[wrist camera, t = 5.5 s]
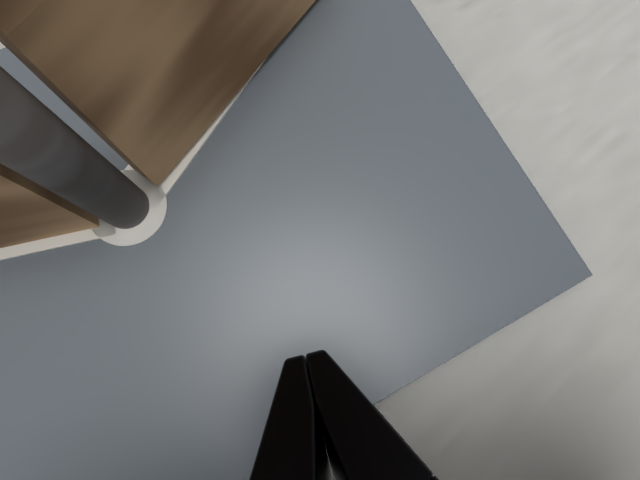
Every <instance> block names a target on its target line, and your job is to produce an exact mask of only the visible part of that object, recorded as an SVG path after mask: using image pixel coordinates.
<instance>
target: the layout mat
mask: <svg viewBox="0 0 640 480" xmlns="http://www.w3.org/2000/svg"><path fill="white" fill-rule="evenodd" d="M0 66H1V67H2V68H3V69H4V70H5V71H7V72H8V73H9V74H10V75H11V76H12V77H13V78H15V79H16V80H17V81H18V82H19V83H20V84H21V85H23V86H24V87H25V88H26V89H27V90H28V91H29V92H31V93H32V94H33V95H34V96H35V97H36V98H37V99H39V100H40V101H41V102H42V103H43V104H44V105H45V106H47V107H48V108H49V109H50V110H51V111H52V112H53V113H55V114H56V115H57V116H58V117H59V118H60V119H61V120H63V121H64V122H65V123H66V124H67V125H68V126H69V127H71V128H72V129H73V130H74V131H75V132H76V133H77V134H79V135H80V136H81V137H82V138H83V139H84V140H85V141H87V142H88V143H89V144H90V145H91V146H92V147H93V148H95V149H96V150H97V151H98V152H99V153H100V154H101V155H103V156H104V157H105V158H106V159H107V160H108V161H109V162H111V163H112V164H113V165H114V166H115V167H116V168H117V169H119V170H120V171H121V172H122V173H123V174H124V175H125V176H127V177H128V178H129V179H130V180H131V181H132V182H133V183H135V184H136V185H137V186H138V187H139V188H140V189H141V190H142V191H144V192H145V194H146V195H147V197H148V199H149V212H148V214H147V216H146V218H145V219H144V220H143V221H142V222H141V223H140V224H139V225H137V226H135V227H133V228H129V229H120V228H117V227H114V226H112V225H111V224H109V223H107V222H105V221H103V220H102V219H100V218H99V225H100V227H96V228H91V229H87V230H82V231H78V232H73V233H68V234H64V235H59V236H54V237H50V238H45V239H41V240H36V241H31V242H27V243H22V244H18V245H13V246H8V247H4V248H0V480H247V479H249V478H250V475H251V472H252V469H253V465H254V462H255V458H256V455H257V452H258V448H259V445H260V441H261V438H262V435H263V431H264V428H265V424H266V421H267V418H268V414H269V411H270V407H271V404H272V401H273V397H274V394H275V390H276V387H277V384H278V380H279V377H280V373H281V370H282V367H283V363H284V361H285V360H286V359H287V358H291V357H295V356H299V355H304V356H305V358H306V354H307V353H311V352H315V351H319V350H325V351H326V352H327V353H328V354H329V355H330V356H331V357H332V358H333V360H334V361H335V362H336V363H337V364H338V365H339V366H340V368H341V369H342V370H343V371H344V372H345V373H346V374H347V376H348V377H349V378H350V379H351V380H352V381H353V382H354V384H355V385H356V386H357V387H358V388H359V389H360V390H361V391H362V393H363V394H364V395H365V396H366V397H367V398H368V399H369V401H370V402H371V403H372V404H373V405H374V404H375V403H377V402H379V401H380V400H382V399H384V398H386V397H387V396H389V395H391V394H392V393H394V392H396V391H397V390H399V389H401V388H402V387H404V386H406V385H407V384H409V383H411V382H413V381H414V380H416V379H418V378H419V377H421V376H423V375H424V374H426V373H428V372H429V371H431V370H433V369H434V368H436V367H438V366H440V365H441V364H443V363H445V362H446V361H448V360H450V359H451V358H453V357H455V356H456V355H458V354H460V353H461V352H463V351H465V350H467V349H468V348H470V347H472V346H473V345H475V344H477V343H478V342H480V341H482V340H483V339H485V338H487V337H488V336H490V335H492V334H494V333H495V332H497V331H499V330H500V329H502V328H504V327H505V326H507V325H509V324H510V323H512V322H514V321H515V320H517V319H519V318H521V317H522V316H524V315H526V314H527V313H529V312H531V311H532V310H534V309H536V308H537V307H539V306H541V305H542V304H544V303H546V302H548V301H549V300H551V299H553V298H554V297H556V296H558V295H559V294H561V293H563V292H564V291H566V290H568V289H570V288H571V287H573V286H575V285H576V284H578V283H580V282H581V281H583V280H585V279H586V278H588V277H590V276H591V275H592V273H591V272H590V270H589V269H588V267H587V266H586V264H585V263H584V261H583V260H582V258H581V257H580V255H579V254H578V252H577V251H576V249H575V248H574V246H573V245H572V243H571V242H570V240H569V239H568V237H567V236H566V234H565V233H564V231H563V230H562V228H561V227H560V225H559V224H558V222H557V221H556V219H555V218H554V216H553V215H552V213H551V212H550V210H549V209H548V207H547V205H546V204H545V202H544V201H543V199H542V198H541V196H540V195H539V193H538V192H537V190H536V189H535V187H534V186H533V184H532V183H531V181H530V180H529V178H528V177H527V175H526V174H525V172H524V171H523V169H522V168H521V166H520V165H519V163H518V162H517V160H516V159H515V157H514V156H513V154H512V153H511V151H510V150H509V148H508V147H507V145H506V144H505V142H504V141H503V139H502V138H501V136H500V135H499V133H498V132H497V130H496V129H495V127H494V126H493V124H492V123H491V121H490V120H489V118H488V117H487V115H486V114H485V112H484V111H483V109H482V108H481V106H480V105H479V103H478V101H477V100H476V98H475V97H474V95H473V94H472V92H471V91H470V89H469V88H468V86H467V85H466V83H465V82H464V80H463V79H462V77H461V76H460V74H459V73H458V71H457V70H456V68H455V67H454V65H453V64H452V62H451V61H450V59H449V58H448V56H447V55H446V53H445V52H444V50H443V49H442V47H441V46H440V44H439V43H438V41H437V40H436V38H435V37H434V35H433V34H432V32H431V31H430V29H429V28H428V26H427V25H426V23H425V22H424V20H423V19H422V17H421V16H420V14H419V13H418V11H417V10H416V8H415V7H414V5H413V4H412V2H411V1H410V0H316V1H315V2H314V3H313V4H312V5H311V6H310V8H309V9H308V10H307V11H306V12H305V14H304V15H303V16H302V17H301V18H300V19H299V21H298V22H297V23H296V24H295V25H294V26H293V28H292V29H291V30H290V31H289V32H288V33H287V35H286V36H285V37H284V38H283V39H282V40H281V42H280V43H279V44H278V45H277V46H276V47H275V49H274V50H273V51H272V52H271V53H270V54H269V56H268V57H267V58H266V59H265V60H264V61H263V63H262V64H261V65H260V66H259V67H258V68H257V70H256V71H255V72H254V73H253V74H252V75H251V77H250V78H249V79H248V80H247V81H246V83H245V84H244V85H243V86H242V87H241V88H240V90H239V91H238V92H237V93H236V94H235V95H234V97H233V98H232V99H231V100H230V101H229V102H228V104H227V105H226V106H225V107H224V108H223V109H222V111H221V112H220V113H219V114H218V115H217V116H216V118H215V119H214V120H213V121H212V122H211V123H210V125H209V126H208V127H207V128H206V129H205V130H204V132H203V133H202V134H201V135H200V136H199V137H198V139H197V140H196V141H195V142H194V143H193V145H192V146H191V147H190V148H189V149H188V150H187V152H186V153H185V154H184V155H183V156H182V157H181V159H180V160H179V161H178V162H177V163H176V164H175V166H174V167H173V168H172V169H171V170H170V171H169V173H168V174H167V175H166V176H165V177H164V178H163V180H162V181H161V182H160V183H159V184H158V185H157V186H156V185H154V184H153V183H152V182H150V181H149V180H148V179H146V178H145V177H143V176H142V175H141V174H139V173H138V172H137V171H135V170H134V169H133V168H132V167H131V166H130V165H129V164H128V163H127V162H126V161H125V160H124V159H123V158H122V157H121V156H119V155H118V154H117V153H116V152H115V151H114V150H113V149H112V148H111V147H110V146H109V145H108V144H107V143H106V142H105V141H104V140H103V139H102V138H101V137H100V136H99V135H98V134H96V133H95V132H94V131H93V130H92V129H91V128H90V127H89V126H88V125H87V124H86V123H85V122H84V121H83V120H82V119H81V118H80V117H79V116H78V115H77V114H76V113H75V112H73V111H72V110H71V109H70V108H69V107H68V106H67V105H66V104H65V103H64V102H63V101H62V100H61V99H60V98H59V97H58V96H57V95H56V94H55V93H54V92H53V91H52V90H50V89H49V88H48V87H47V86H46V85H45V84H44V83H43V82H42V81H41V80H40V79H39V78H38V77H37V76H36V75H35V74H34V73H33V72H32V71H31V70H30V69H28V68H27V67H26V66H25V65H24V64H23V63H22V62H21V61H20V60H19V59H18V58H17V57H16V56H15V55H14V54H13V53H12V52H11V51H10V50H9V49H8V48H7V47H6V48H3V49H1V50H0Z"/></svg>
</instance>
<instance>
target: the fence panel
mask: <svg viewBox="0 0 640 480" xmlns="http://www.w3.org/2000/svg"><path fill="white" fill-rule="evenodd" d="M315 1H316V0H0V42H1V43H2V44H3V45H4V46H5V47H7V48H8V49H9V50H10V51H11V52H12V53H13V54H14V55H15V56H16V57H17V58H18V59H19V60H20V61H21V62H22V63H23V64H24V65H25V66H26V67H27V68H28V69H30V70H31V71H32V72H33V73H34V74H35V75H36V76H37V77H38V78H39V79H40V80H41V81H42V82H43V83H44V84H45V85H46V86H47V87H48V88H49V89H50V90H52V91H53V92H54V93H55V94H56V95H57V96H58V97H59V98H60V99H61V100H62V101H63V102H64V103H65V104H66V105H67V106H68V107H69V108H70V109H71V110H72V111H73V112H75V113H76V114H77V115H78V116H79V117H80V118H81V119H82V120H83V121H84V122H85V123H86V124H87V125H88V126H89V127H90V128H91V129H92V130H93V131H94V132H95V133H96V134H98V135H99V136H100V137H101V138H102V139H103V140H104V141H105V142H106V143H107V144H108V145H109V146H110V147H111V148H112V149H113V150H114V151H115V152H116V153H117V154H118V155H119V156H121V157H122V158H123V159H124V160H125V161H126V162H127V163H128V164H129V165H130V166H131V167H132V168H133V169H134V170H135V171H137V172H138V173H139V174H141V175H142V176H143V177H145V178H146V179H148V180H149V181H150V182H152V183H153V184H154V185H156V186H157V185H158V184H159V183H160V182H161V181H162V180H163V178H164V177H165V176H166V175H167V174H168V173H169V171H170V170H171V169H172V168H173V167H174V166H175V164H176V163H177V162H178V161H179V160H180V159H181V157H182V156H183V155H184V154H185V153H186V152H187V150H188V149H189V148H190V147H191V146H192V145H193V143H194V142H195V141H196V140H197V139H198V137H199V136H200V135H201V134H202V133H203V132H204V130H205V129H206V128H207V127H208V126H209V125H210V123H211V122H212V121H213V120H214V119H215V118H216V116H217V115H218V114H219V113H220V112H221V111H222V109H223V108H224V107H225V106H226V105H227V104H228V102H229V101H230V100H231V99H232V98H233V97H234V95H235V94H236V93H237V92H238V91H239V90H240V88H241V87H242V86H243V85H244V84H245V83H246V81H247V80H248V79H249V78H250V77H251V75H252V74H253V73H254V72H255V71H256V70H257V68H258V67H259V66H260V65H261V64H262V63H263V61H264V60H265V59H266V58H267V57H268V56H269V54H270V53H271V52H272V51H273V50H274V49H275V47H276V46H277V45H278V44H279V43H280V42H281V40H282V39H283V38H284V37H285V36H286V35H287V33H288V32H289V31H290V30H291V29H292V28H293V26H294V25H295V24H296V23H297V22H298V21H299V19H300V18H301V17H302V16H303V15H304V14H305V12H306V11H307V10H308V9H309V8H310V6H311V5H312V4H313V3H314V2H315Z"/></svg>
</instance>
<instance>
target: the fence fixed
mask: <svg viewBox="0 0 640 480" xmlns="http://www.w3.org/2000/svg"><path fill="white" fill-rule="evenodd" d="M148 212H149V199H148V197H147V195H146V194H145V192H144V191H142V190H141V189H140V188H139V187H138V186H137V185H136V184H135V183H133V182H132V181H131V180H130V179H129V178H128V177H127V176H125V175H124V174H123V173H122V172H121V171H120V170H119V169H117V168H116V167H115V166H114V165H113V164H112V163H111V162H109V161H108V160H107V159H106V158H105V157H104V156H103V155H101V154H100V153H99V152H98V151H97V150H96V149H95V148H93V147H92V146H91V145H90V144H89V143H88V142H87V141H85V140H84V139H83V138H82V137H81V136H80V135H79V134H77V133H76V132H75V131H74V130H73V129H72V128H71V127H69V126H68V125H67V124H66V123H65V122H64V121H63V120H61V119H60V118H59V117H58V116H57V115H56V114H55V113H53V112H52V111H51V110H50V109H49V108H48V107H47V106H45V105H44V104H43V103H42V102H41V101H40V100H39V99H37V98H36V97H35V96H34V95H33V94H32V93H31V92H29V91H28V90H27V89H26V88H25V87H24V86H23V85H21V84H20V83H19V82H18V81H17V80H16V79H15V78H13V77H12V76H11V75H10V74H9V73H8V72H7V71H5V70H4V69H3V68H2V67H1V66H0V248H4V247H8V246H13V245H18V244H22V243H27V242H31V241H36V240H41V239H45V238H50V237H54V236H59V235H64V234H68V233H73V232H78V231H82V230H87V229H91V228H96V227H100V225H99V218H100V219H102V220H103V221H105V222H107V223H109V224H111V225H112V226H114V227H117V228H120V229H129V228H133V227H135V226H137V225H139V224H140V223H141V222H142V221H143V220H144V219H145V218H146V216H147V214H148Z"/></svg>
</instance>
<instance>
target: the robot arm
mask: <svg viewBox="0 0 640 480" xmlns="http://www.w3.org/2000/svg"><path fill="white" fill-rule="evenodd" d="M324 441H325V442H324ZM325 445H326V446H325ZM326 449H327V451H326ZM327 453H328V456H327ZM328 457H329V461H330V464H331V468H332V471H333V474H334V477H335V480H439V479H438V478H437V477H436V476H433V473H432V471H431V470H430V469H429V468H428V467H427V466H426V465H425V463H424V462H423V461H422V460H421V459H420V458H419V457H418V455H417V454H416V453H415V452H414V451H413V450H412V449H411V447H410V446H409V445H408V444H407V443H406V442H405V441H404V439H403V438H402V437H401V436H400V435H399V434H398V433H397V431H396V430H395V429H394V428H393V427H392V426H391V425H390V423H389V422H388V421H387V420H386V419H385V418H384V417H383V415H382V414H381V413H380V412H379V411H378V410H377V409H376V407H375V406H374V405H373V404H372V403H371V402H370V401H369V399H368V398H367V397H366V396H365V395H364V394H363V393H362V391H361V390H360V389H359V388H358V387H357V386H356V385H355V384H354V382H353V381H352V380H351V379H350V378H349V377H348V376H347V374H346V373H345V372H344V371H343V370H342V369H341V368H340V366H339V365H338V364H337V363H336V362H335V361H334V360H333V358H332V357H331V356H330V355H329V354H328V353H327V352H326V351H325V350H319V351H315V352H311V353H307V354H306V358H305V356H304V355H299V356H295V357H291V358H287V359H286V360H285V361H284V363H283V367H282V370H281V373H280V377H279V380H278V384H277V387H276V390H275V394H274V397H273V401H272V404H271V407H270V411H269V414H268V418H267V421H266V424H265V428H264V431H263V435H262V438H261V441H260V445H259V448H258V452H257V455H256V458H255V462H254V465H253V469H252V472H251V475H250V479H249V480H331V476H330V468H329V461H328Z"/></svg>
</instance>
